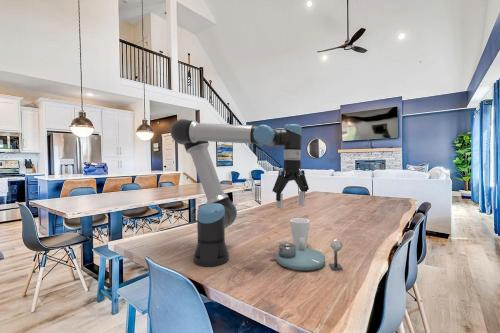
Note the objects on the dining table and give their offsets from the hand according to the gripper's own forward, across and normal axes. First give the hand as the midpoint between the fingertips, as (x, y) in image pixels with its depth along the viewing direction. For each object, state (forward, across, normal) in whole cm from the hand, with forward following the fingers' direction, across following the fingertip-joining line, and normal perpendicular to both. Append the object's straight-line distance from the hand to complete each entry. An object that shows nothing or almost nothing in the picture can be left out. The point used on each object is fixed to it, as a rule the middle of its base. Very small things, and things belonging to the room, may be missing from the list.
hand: (290, 207), depth 116 cm
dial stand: (+21, +5, -21) cm, 30 cm away
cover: (+19, -6, -5) cm, 21 cm away
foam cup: (+22, +12, +5) cm, 26 cm away
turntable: (+22, -2, -8) cm, 23 cm away
